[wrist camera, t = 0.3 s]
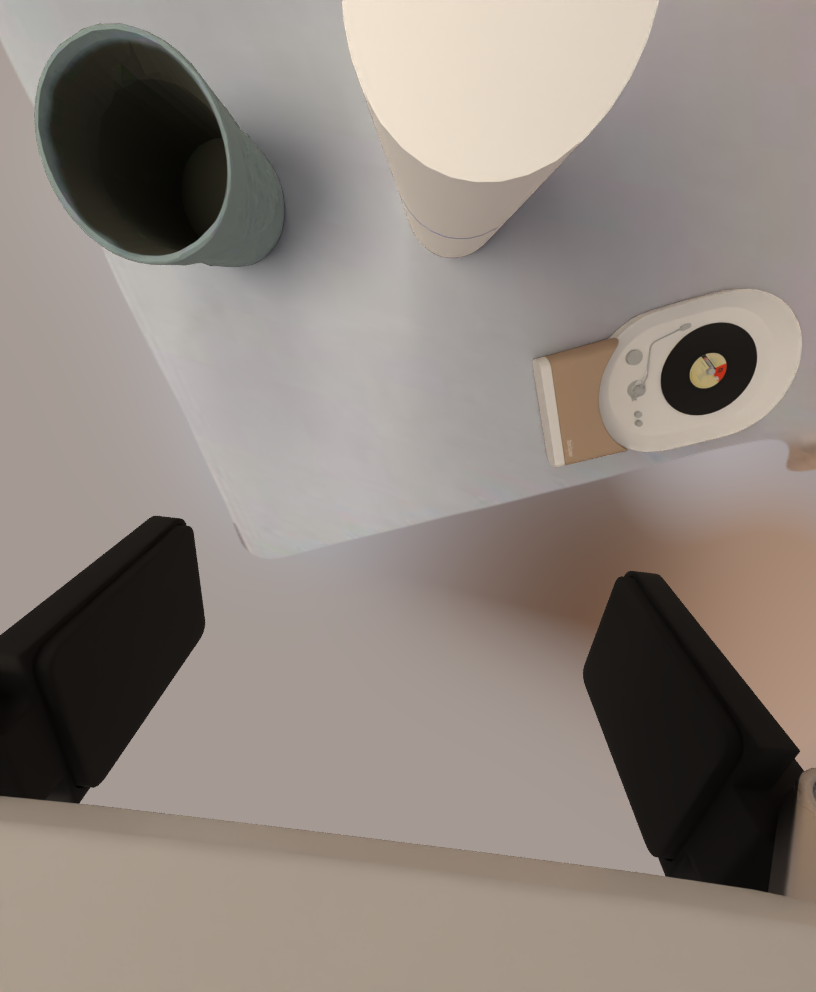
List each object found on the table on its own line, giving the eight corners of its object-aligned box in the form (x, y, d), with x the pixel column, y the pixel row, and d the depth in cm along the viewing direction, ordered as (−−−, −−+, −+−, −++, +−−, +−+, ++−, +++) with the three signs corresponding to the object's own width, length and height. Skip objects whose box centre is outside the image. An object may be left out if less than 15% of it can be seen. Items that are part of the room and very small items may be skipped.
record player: (537, 347, 33) (825, 267, 30) (528, 343, 36) (792, 269, 33) (558, 483, 38) (810, 425, 35) (549, 470, 41) (782, 415, 38)
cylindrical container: (403, 253, 34) (338, 170, 11) (411, 140, 31) (343, -285, 8) (494, 261, 34) (614, 193, 11) (511, 148, 31) (720, -263, 8)
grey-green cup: (157, 242, 35) (29, 217, 24) (177, 88, 30) (34, -27, 20) (278, 295, 36) (209, 295, 25) (314, 154, 32) (250, 79, 21)
